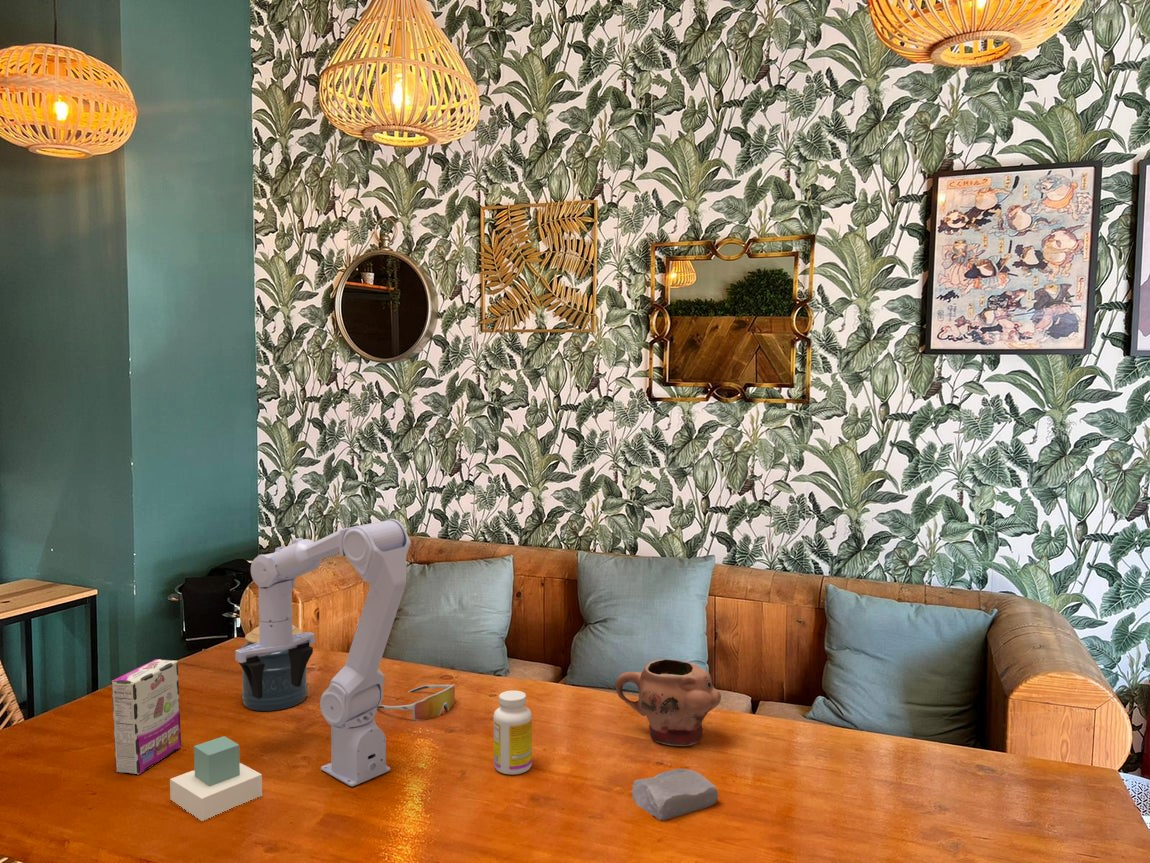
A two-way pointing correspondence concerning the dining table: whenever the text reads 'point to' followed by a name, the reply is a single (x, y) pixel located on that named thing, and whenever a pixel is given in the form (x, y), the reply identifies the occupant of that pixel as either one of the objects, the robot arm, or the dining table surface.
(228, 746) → the teal cube
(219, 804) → the cream block
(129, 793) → the dining table surface
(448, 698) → the sunglasses
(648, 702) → the sculpted ceramic mug
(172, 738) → the candy bar box
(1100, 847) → the dining table surface
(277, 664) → the canister
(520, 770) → the supplement bottle
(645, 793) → the stone block
